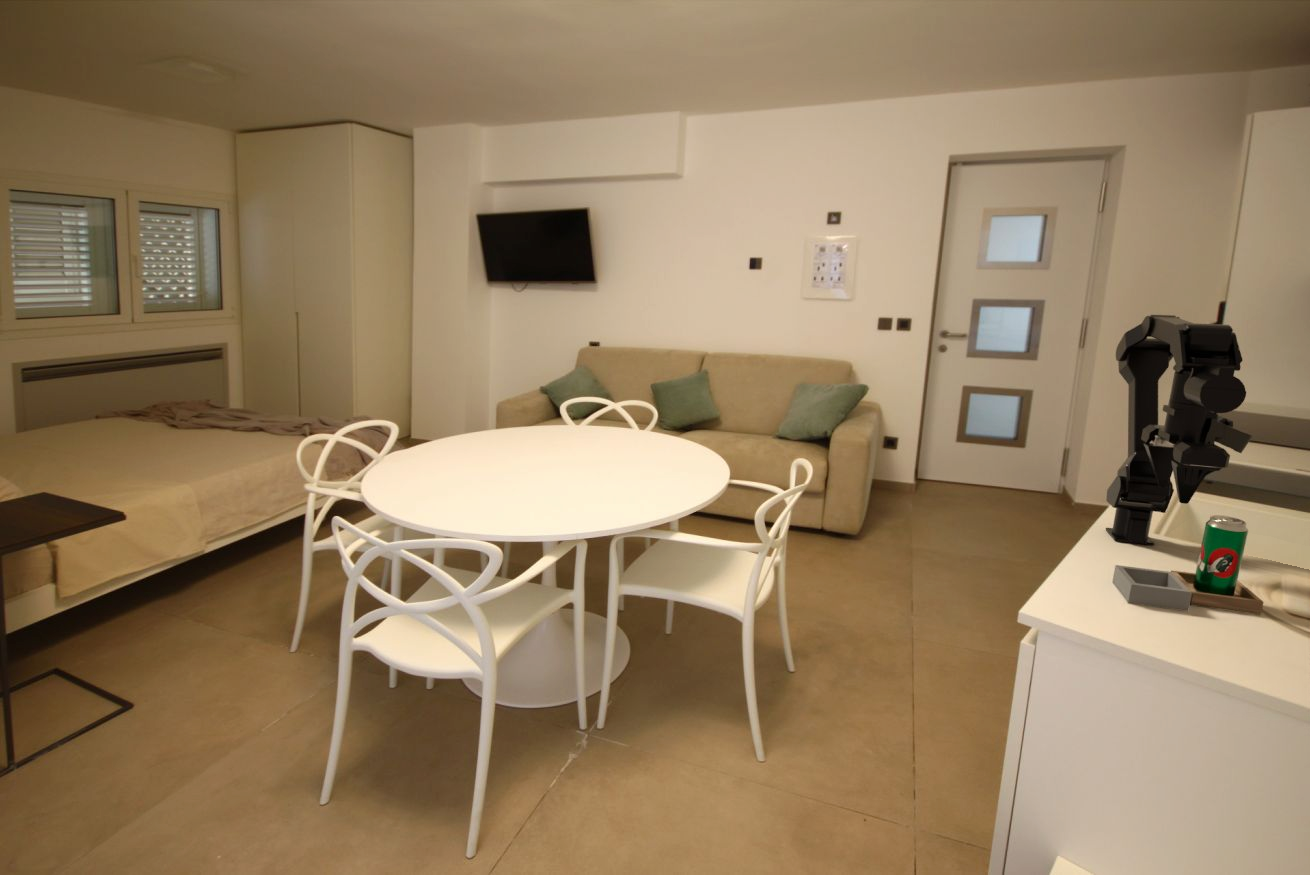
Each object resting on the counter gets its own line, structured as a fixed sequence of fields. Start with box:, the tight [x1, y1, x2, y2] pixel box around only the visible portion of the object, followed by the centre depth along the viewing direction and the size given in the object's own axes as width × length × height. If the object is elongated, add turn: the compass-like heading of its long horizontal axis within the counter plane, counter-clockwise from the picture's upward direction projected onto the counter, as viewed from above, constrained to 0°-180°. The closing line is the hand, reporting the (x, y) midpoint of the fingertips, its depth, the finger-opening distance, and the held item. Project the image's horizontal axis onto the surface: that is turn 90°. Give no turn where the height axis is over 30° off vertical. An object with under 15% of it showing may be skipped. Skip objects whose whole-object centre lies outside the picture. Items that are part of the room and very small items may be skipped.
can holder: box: [1111, 564, 1192, 612], centre depth 110 cm, size 8×8×3 cm
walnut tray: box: [1170, 570, 1265, 615], centre depth 110 cm, size 9×9×2 cm
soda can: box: [1193, 514, 1249, 596], centre depth 109 cm, size 5×5×12 cm
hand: (1172, 495), depth 118 cm, fingers open, 9 cm apart
